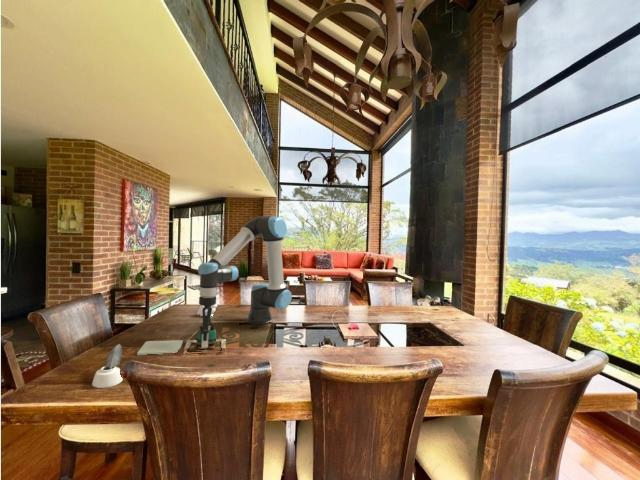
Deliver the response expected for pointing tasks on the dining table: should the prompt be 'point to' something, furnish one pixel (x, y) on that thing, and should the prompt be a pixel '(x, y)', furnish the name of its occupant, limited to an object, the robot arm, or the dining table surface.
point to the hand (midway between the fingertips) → (205, 343)
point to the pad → (160, 347)
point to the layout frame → (223, 341)
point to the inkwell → (109, 370)
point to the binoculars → (210, 337)
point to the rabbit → (211, 311)
